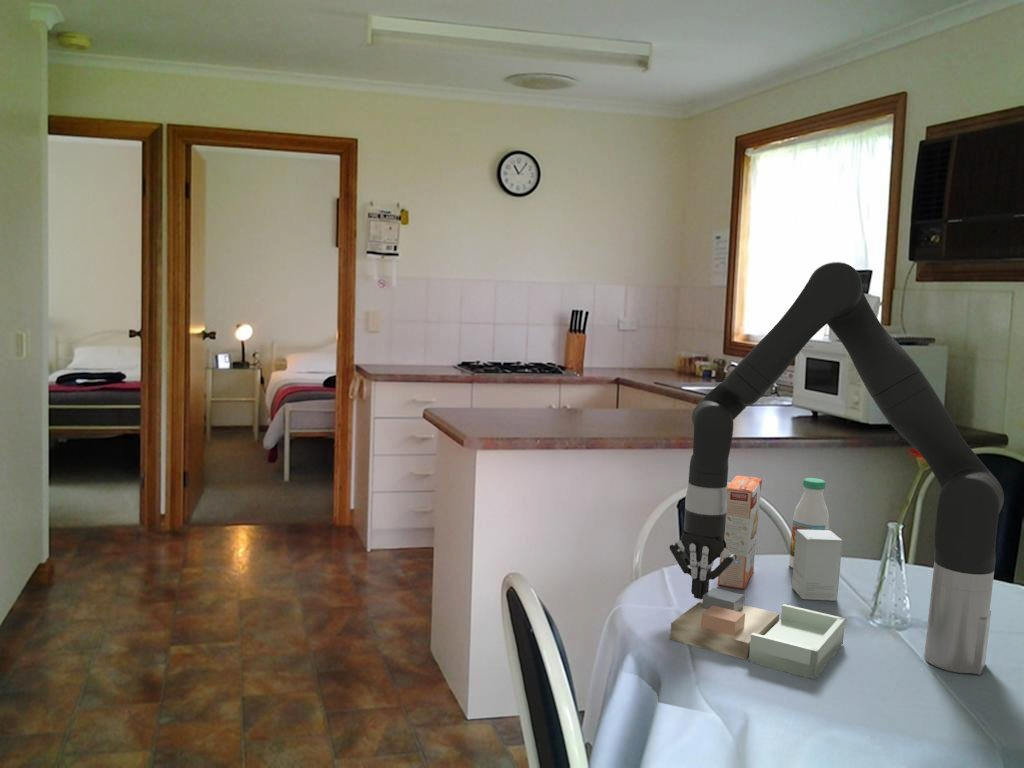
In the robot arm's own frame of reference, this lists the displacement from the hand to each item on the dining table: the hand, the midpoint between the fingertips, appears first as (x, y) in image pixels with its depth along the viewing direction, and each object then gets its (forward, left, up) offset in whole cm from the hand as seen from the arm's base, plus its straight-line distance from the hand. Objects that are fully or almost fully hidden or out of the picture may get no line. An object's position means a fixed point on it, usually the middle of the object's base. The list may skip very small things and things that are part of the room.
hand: (699, 597), depth 179 cm
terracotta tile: (-8, +9, -1) cm, 12 cm away
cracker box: (+2, -27, -4) cm, 27 cm away
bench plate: (-7, +4, -4) cm, 9 cm away
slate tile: (-5, 0, -1) cm, 5 cm away
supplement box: (-14, -28, -4) cm, 31 cm away
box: (-20, +4, -4) cm, 21 cm away
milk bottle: (-8, -44, -4) cm, 44 cm away
